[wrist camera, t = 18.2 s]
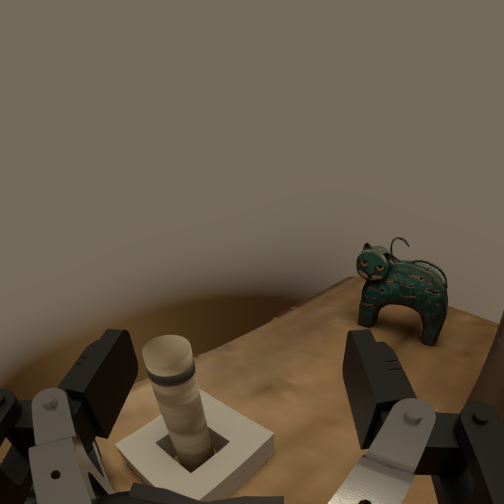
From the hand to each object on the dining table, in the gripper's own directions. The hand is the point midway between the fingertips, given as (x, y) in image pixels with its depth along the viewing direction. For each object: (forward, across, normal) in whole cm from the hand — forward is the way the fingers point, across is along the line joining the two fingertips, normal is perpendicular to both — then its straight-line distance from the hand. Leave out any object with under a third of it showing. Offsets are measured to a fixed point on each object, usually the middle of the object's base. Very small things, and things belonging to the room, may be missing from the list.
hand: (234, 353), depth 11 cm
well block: (+13, +8, +30) cm, 34 cm away
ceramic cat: (+43, -27, +30) cm, 59 cm away
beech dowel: (+13, +8, +30) cm, 34 cm away
